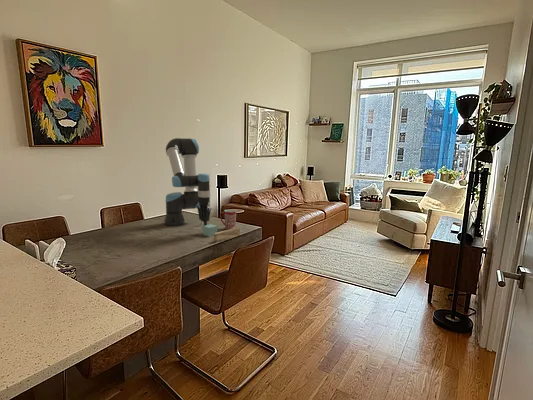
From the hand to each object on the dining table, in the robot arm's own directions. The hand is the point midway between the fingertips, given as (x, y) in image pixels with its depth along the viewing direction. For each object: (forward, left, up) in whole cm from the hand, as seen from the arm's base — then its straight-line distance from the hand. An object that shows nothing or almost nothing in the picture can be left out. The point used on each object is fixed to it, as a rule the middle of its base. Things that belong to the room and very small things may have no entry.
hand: (204, 230), depth 218 cm
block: (+6, 0, -2) cm, 6 cm away
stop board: (+20, +2, -2) cm, 20 cm away
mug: (+4, +19, -2) cm, 20 cm away
